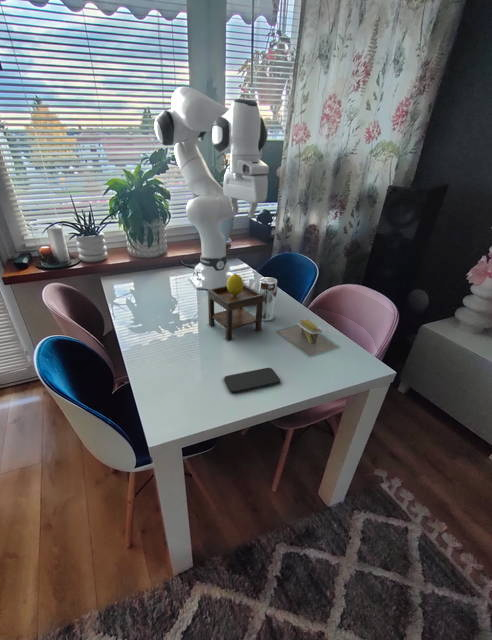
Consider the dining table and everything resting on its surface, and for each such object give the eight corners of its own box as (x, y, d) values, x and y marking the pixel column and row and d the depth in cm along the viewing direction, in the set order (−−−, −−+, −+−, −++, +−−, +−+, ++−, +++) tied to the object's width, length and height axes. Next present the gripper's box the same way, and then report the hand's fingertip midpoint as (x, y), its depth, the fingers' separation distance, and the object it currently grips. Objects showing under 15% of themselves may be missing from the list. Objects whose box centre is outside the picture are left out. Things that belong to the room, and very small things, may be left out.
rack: (208, 324, 122) (207, 289, 114) (240, 316, 128) (241, 282, 120) (228, 340, 112) (228, 303, 104) (261, 330, 118) (263, 294, 110)
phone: (223, 376, 94) (270, 366, 97) (223, 378, 94) (270, 369, 98) (231, 391, 88) (281, 381, 91) (231, 394, 88) (281, 383, 92)
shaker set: (235, 309, 133) (235, 283, 127) (230, 305, 137) (230, 279, 130) (260, 304, 137) (262, 278, 131) (255, 300, 141) (257, 275, 134)
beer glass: (273, 322, 123) (277, 284, 115) (255, 320, 125) (257, 283, 116) (275, 314, 129) (278, 277, 121) (257, 312, 130) (259, 276, 122)
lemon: (234, 291, 116) (234, 270, 112) (246, 296, 113) (246, 273, 109) (223, 296, 113) (223, 273, 109) (235, 300, 110) (235, 277, 105)
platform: (309, 356, 104) (312, 338, 100) (277, 331, 117) (279, 315, 113) (338, 347, 108) (342, 329, 105) (303, 324, 122) (306, 308, 118)
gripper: (218, 165, 106) (218, 211, 113) (254, 168, 91) (252, 220, 99) (234, 164, 108) (234, 209, 116) (272, 167, 94) (269, 218, 101)
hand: (242, 214), depth 107 cm, fingers open, 8 cm apart
